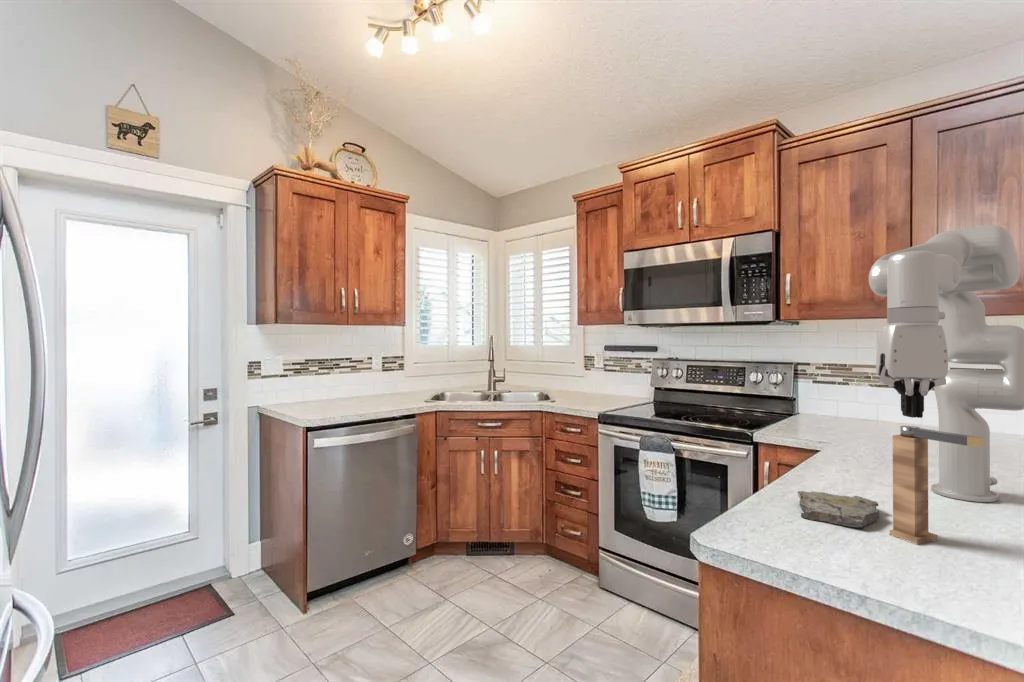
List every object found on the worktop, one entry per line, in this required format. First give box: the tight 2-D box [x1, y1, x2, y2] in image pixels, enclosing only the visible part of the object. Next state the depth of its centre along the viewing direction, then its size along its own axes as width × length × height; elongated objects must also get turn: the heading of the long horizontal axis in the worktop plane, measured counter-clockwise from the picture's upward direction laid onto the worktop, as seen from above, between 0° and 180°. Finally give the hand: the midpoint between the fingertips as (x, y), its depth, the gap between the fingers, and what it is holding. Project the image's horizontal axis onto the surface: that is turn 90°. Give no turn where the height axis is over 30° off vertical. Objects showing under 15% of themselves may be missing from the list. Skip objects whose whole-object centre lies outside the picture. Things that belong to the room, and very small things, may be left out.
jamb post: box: [889, 434, 939, 545], centre depth 99 cm, size 6×5×20 cm
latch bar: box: [899, 425, 984, 447], centre depth 95 cm, size 13×3×2 cm, turn 20°
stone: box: [797, 490, 880, 528], centre depth 112 cm, size 18×15×4 cm
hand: (912, 416), depth 93 cm, fingers closed
